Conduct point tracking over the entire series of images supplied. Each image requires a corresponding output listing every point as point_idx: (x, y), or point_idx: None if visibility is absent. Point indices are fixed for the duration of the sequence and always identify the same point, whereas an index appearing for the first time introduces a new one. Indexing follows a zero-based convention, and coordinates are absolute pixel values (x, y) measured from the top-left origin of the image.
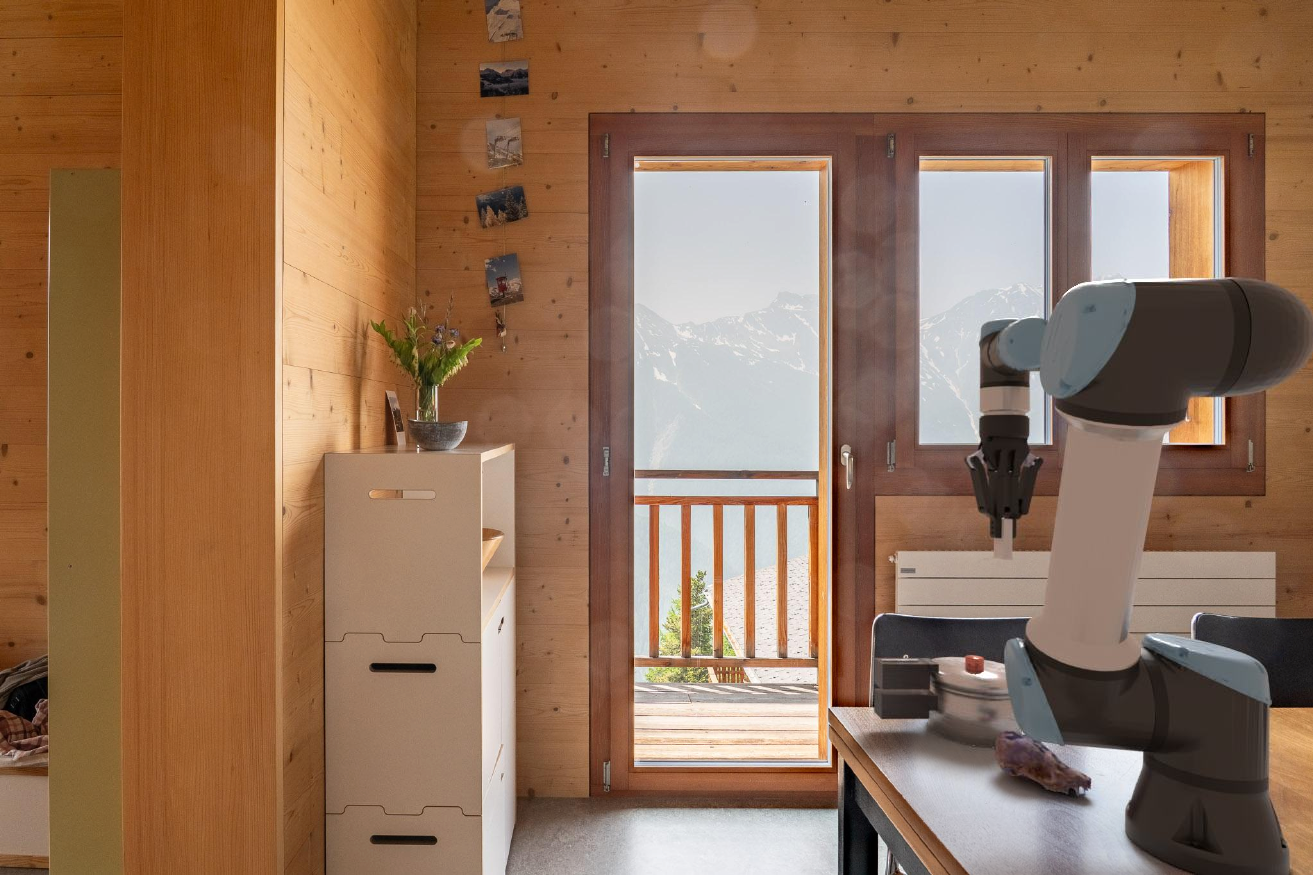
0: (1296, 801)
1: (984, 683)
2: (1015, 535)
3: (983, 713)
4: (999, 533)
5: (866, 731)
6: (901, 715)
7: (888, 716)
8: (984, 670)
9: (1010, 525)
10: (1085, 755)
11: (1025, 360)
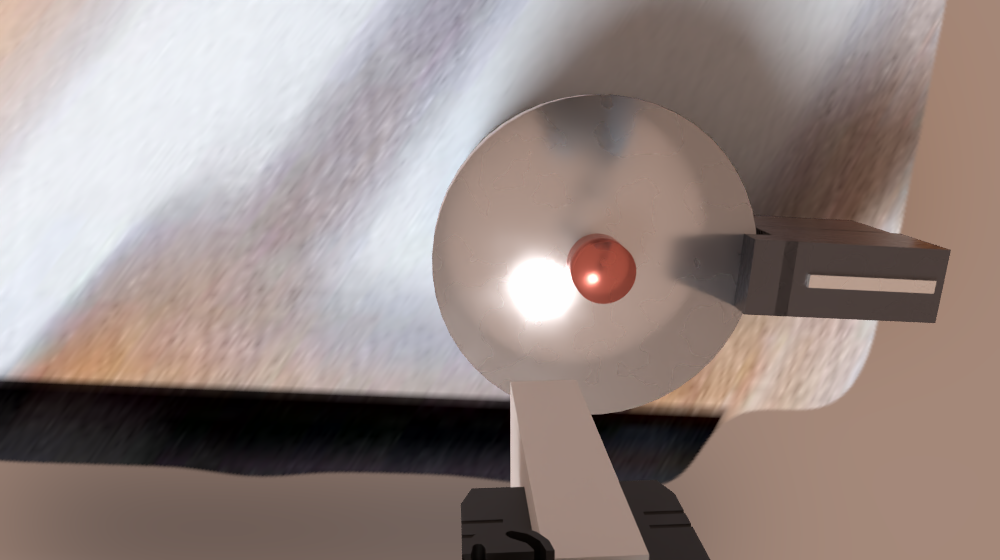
0: None
1: (658, 109)
2: (468, 503)
3: None
4: (635, 501)
5: None
6: (801, 219)
7: (836, 220)
8: (563, 255)
9: (558, 519)
10: (359, 34)
11: None
